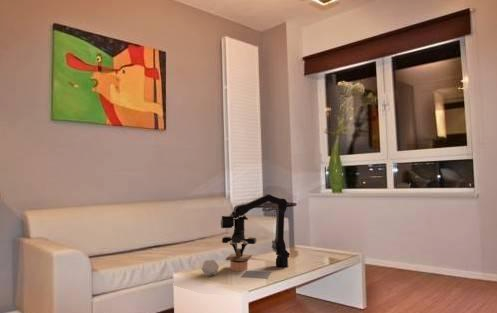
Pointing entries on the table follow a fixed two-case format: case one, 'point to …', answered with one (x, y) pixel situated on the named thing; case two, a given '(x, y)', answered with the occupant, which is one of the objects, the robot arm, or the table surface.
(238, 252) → the lid
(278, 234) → the robot arm
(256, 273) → the tray
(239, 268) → the bowl
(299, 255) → the table surface
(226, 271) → the table surface
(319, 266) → the table surface
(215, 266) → the die
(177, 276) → the table surface
